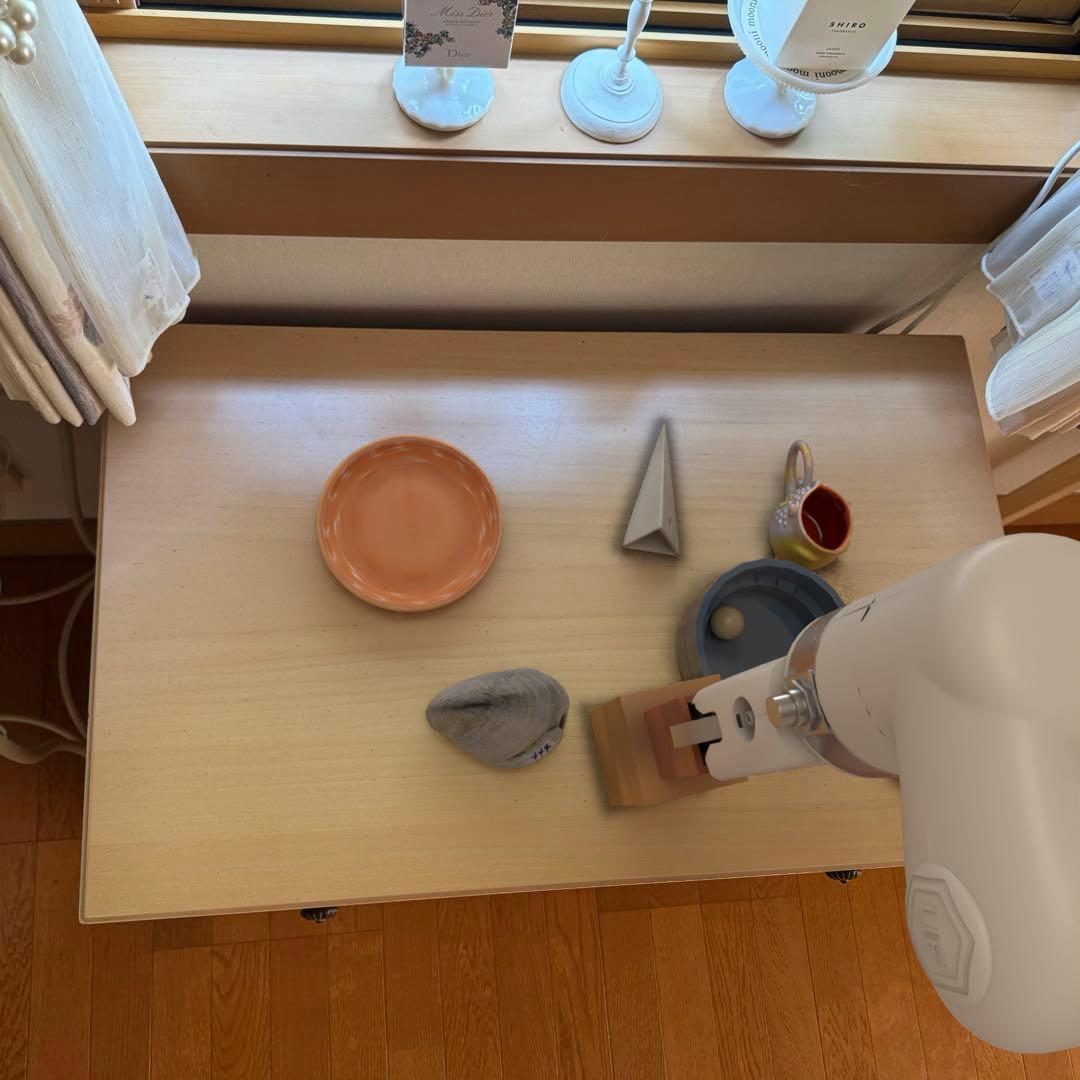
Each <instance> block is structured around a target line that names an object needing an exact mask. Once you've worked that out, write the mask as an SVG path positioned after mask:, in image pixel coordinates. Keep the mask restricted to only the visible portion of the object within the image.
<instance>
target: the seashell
mask: <svg viewBox="0 0 1080 1080" xmlns="http://www.w3.org/2000/svg"><path fill="white" fill-rule="evenodd" d="M569 709H570V699H569V695H568V693H567V690H566V689H565V688H564V686H562V684H561V683H560V682H559V681H558V680H557V679H555V678H554V677H552V676H550V675H547V674H545V673H543V672H541V671H540V670H538V669H536V668H530V667H524V668H523V667H522V668H515V669H505V670H500V671H494V672H489V673H483V674H480V675H475V676H472V677H468V678H465V679H462V680H460V681H458V682H455V683H454V684H452V685H450V686H448V687H446V688H444V689H443V690H441V691H440V692H439V693H437V695H435V697H433V698H432V699H431V701H430V702H429V704H428V706H427V708H426V711H425V718H426V721H427V723H428V724H429V726H430V728H432V729H433V730H434V731H436V732H437V733H439V734H441V736H443V737H444V738H447V740H449V741H450V742H452V743H453V744H455V745H456V746H457V747H459V748H461V749H462V750H463V751H465V752H466V753H467V754H468V755H470V756H471V757H472V758H473V759H474V760H477V761H478V762H479V763H480V764H481V765H484V766H487V767H491V768H494V769H502V770H514V769H520V768H521V769H522V768H524V767H527V766H530V765H533V764H535V763H536V762H538V761H540V760H541V759H543V758H544V757H546V756H547V755H548V754H550V753H551V752H552V751H553V750H554V748H555V747H556V746H557V745H559V744H560V743H561V742H562V739H563V737H564V732H565V728H566V723H567V719H568V711H569Z"/></svg>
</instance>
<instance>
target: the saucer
mask: <svg viewBox="0 0 1080 1080" xmlns="http://www.w3.org/2000/svg"><path fill="white" fill-rule="evenodd" d="M493 484H494V483H493V482H492V481H491V479H490V478H489V475H487V473H486V472H485V471H484V469H483V468H482V467H481V466H480V465H479V463H477V462H476V461H475V460H474V459H473V458H472V457H471V456H470V455H468V454H467V453H466V452H464V451H463V450H461V449H460V448H459V447H457V446H455V445H453V444H451V443H449V442H446V441H444V440H441V439H440V438H436V437H431V436H428V435H422V434H396V435H390V436H386V437H382V438H381V437H380V438H378V439H376V440H373V441H370V442H368V443H366V444H364V445H362V446H360V447H358V448H357V449H355V450H354V451H352V452H351V453H350V454H349V455H347V456H346V457H345V458H344V459H343V460H342V461H341V462H340V463H339V464H338V465H337V466H336V467H335V468H334V470H333V471H332V472H331V474H330V475H329V477H328V479H327V480H326V482H325V484H324V486H323V488H322V491H321V493H320V495H319V499H318V503H317V505H316V506H317V507H316V513H315V533H316V534H315V535H316V539H317V543H318V548H319V550H320V554H321V555H322V558H323V560H324V563H325V565H326V567H327V568H328V569H329V571H330V572H331V574H332V575H333V577H334V578H335V579H336V580H337V581H338V582H339V583H340V584H341V586H343V587H344V588H345V589H346V590H347V591H348V592H350V593H351V594H352V595H354V596H355V597H357V598H358V599H360V600H362V601H364V602H365V603H368V604H370V605H371V606H374V607H377V608H381V609H383V610H387V611H392V612H393V611H394V612H400V613H419V612H427V611H431V610H435V609H439V608H443V607H444V606H448V605H450V604H452V603H454V602H455V601H458V600H459V599H461V598H462V597H464V596H465V595H466V594H468V593H470V592H471V591H472V590H473V589H474V588H475V587H476V586H477V585H478V584H480V582H481V581H482V580H483V579H484V577H485V576H486V575H487V574H488V572H489V571H490V570H491V567H492V565H493V564H494V562H495V560H496V557H497V556H498V552H499V549H500V546H501V544H502V543H501V542H502V538H503V537H502V536H503V530H504V529H503V528H504V527H503V512H502V506H501V501H500V498H499V496H498V493H497V491H496V488H495V486H494V485H493Z"/></svg>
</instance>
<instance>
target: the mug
mask: <svg viewBox="0 0 1080 1080" xmlns="http://www.w3.org/2000/svg"><path fill="white" fill-rule="evenodd" d="M799 453H801V457H802V460H803V461H802V462H803V477H802V478H797V461H798V456H799ZM784 474H785V478H784V482H785V483H784V484H785V485H784V488H785V489H784V495H785V496H784V497H785V498H784V500H783V501H782V502H781V503H779V504H778V505H777V507H776V508H775V510H774V513H773V515H772V517H771V519H770V523H769V527H768V539H769V542H770V545H771V549H772V552H773V553H774V559H777V560H785V561H791V562H793V563H796V564H798V565H800V566H802V567H804V568H807V569H809V570H811V571H815V570H819V569H822V568H824V567H827V566H829V565H830V564H832V563H833V562H834V561H835V560H836V559H837V558H838V557H839V556H840V555H842V554H844V553H846V552H847V551H848V549H849V548H850V546H851V545H850V544H851V538H852V535H853V533H854V525H855V524H854V522H855V518H854V514H853V511H852V508H851V502H850V501H849V500H848V499H847V498H845V497H844V496H843V494H842V493H840V492H839V491H837V489H835V488H833V487H830V486H829V485H826V484H824V483H823V482H822V481H821V480H818V479H816V480H814V459H813V453H812V451H811V447H810V446H809V444H808V443H807V442H806V441H805V440H803V439H797V440H795V441H793V443H791V445H790V447H789V449H788V451H787V455H786V462H785V473H784Z"/></svg>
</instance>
